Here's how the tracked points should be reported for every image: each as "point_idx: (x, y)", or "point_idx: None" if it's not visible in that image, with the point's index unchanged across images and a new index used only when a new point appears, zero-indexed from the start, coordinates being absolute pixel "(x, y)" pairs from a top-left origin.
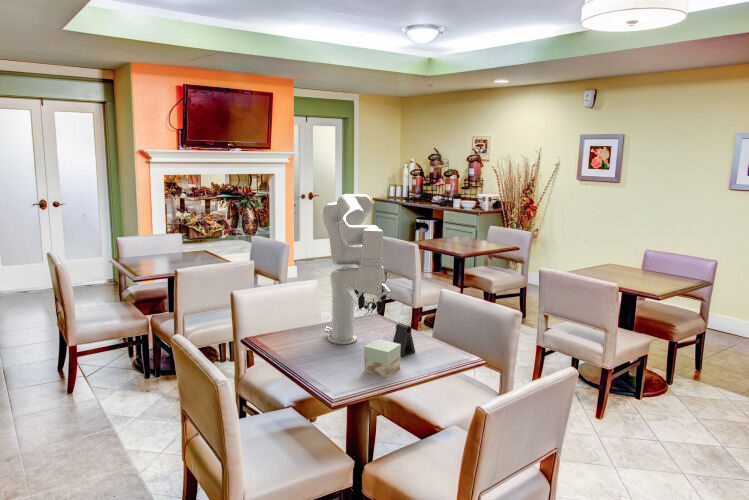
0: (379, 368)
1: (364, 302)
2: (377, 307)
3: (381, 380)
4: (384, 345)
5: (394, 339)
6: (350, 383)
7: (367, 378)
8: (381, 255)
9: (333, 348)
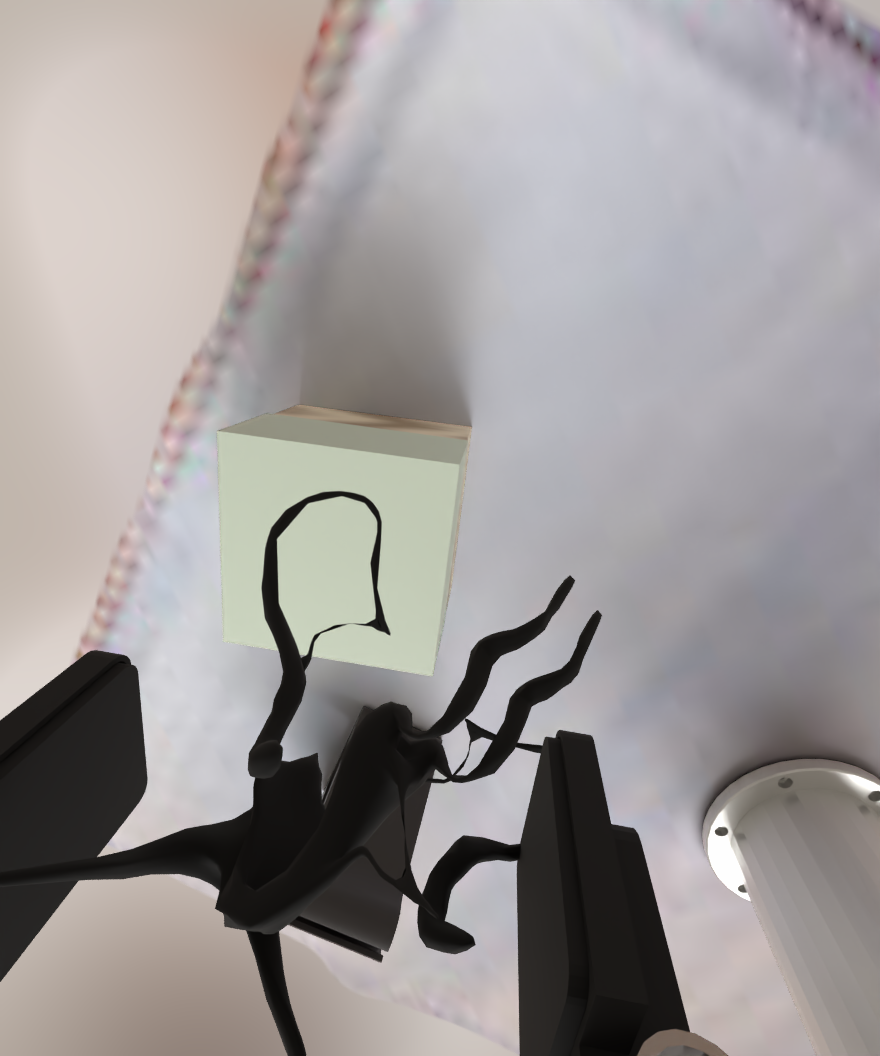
0: (345, 419)
1: (518, 953)
2: (38, 716)
3: (309, 338)
4: (315, 561)
5: (413, 820)
6: (471, 176)
7: (402, 324)
8: None
9: (811, 688)
